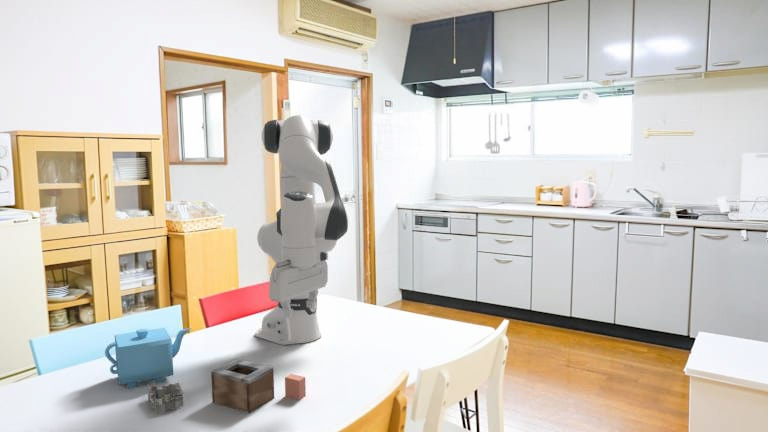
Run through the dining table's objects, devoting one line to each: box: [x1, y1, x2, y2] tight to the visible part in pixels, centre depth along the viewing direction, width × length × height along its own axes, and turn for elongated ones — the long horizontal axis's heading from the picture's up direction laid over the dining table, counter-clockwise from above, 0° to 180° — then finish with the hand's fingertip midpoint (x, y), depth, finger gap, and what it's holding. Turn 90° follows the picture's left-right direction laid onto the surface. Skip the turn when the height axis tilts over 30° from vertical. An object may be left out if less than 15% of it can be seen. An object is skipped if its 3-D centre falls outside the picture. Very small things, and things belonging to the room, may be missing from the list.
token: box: [284, 373, 307, 400], centre depth 140 cm, size 4×2×5 cm, turn 62°
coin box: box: [210, 358, 275, 414], centre depth 137 cm, size 12×9×8 cm
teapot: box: [104, 327, 192, 389], centre depth 151 cm, size 22×11×14 cm, turn 120°
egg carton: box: [147, 382, 185, 414], centre depth 136 cm, size 11×8×4 cm
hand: (300, 311), depth 139 cm, fingers open, 8 cm apart
